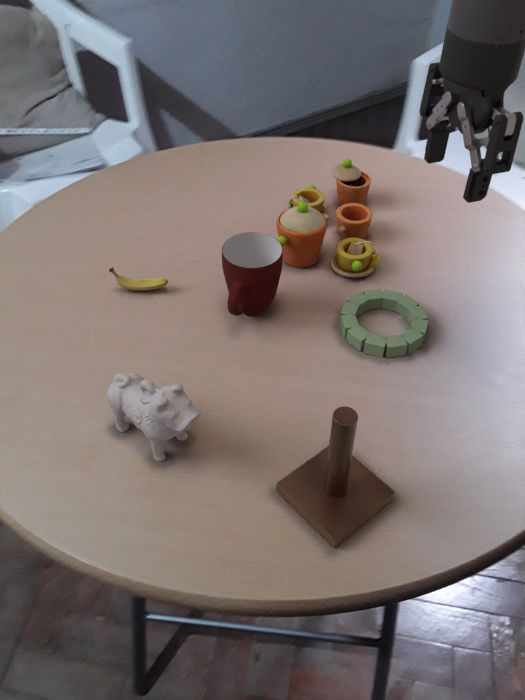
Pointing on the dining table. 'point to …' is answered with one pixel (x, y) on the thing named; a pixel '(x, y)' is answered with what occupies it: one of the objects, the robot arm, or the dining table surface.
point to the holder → (336, 485)
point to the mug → (251, 272)
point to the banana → (139, 282)
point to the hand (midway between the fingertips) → (452, 179)
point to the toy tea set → (310, 225)
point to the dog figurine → (151, 409)
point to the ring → (377, 343)
